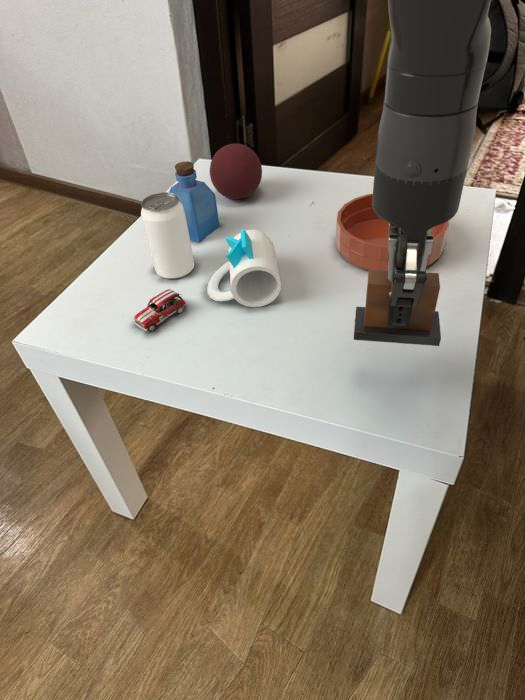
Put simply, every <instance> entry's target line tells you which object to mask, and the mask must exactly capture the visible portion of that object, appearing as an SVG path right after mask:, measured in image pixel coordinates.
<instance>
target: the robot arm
mask: <svg viewBox="0 0 525 700" xmlns="http://www.w3.org/2000/svg"><path fill="white" fill-rule="evenodd" d="M491 2H492V0H387V9H388V18H389V27H390V41H389V46H388V47H389V48H388V54H387V61H386V62H387V63H386V73H385V84H384V96H383V105H382V111H381V115H380V119H379V125H378V131H377V139H376V152H375V163H374V173H373V175H374V176H373V187H372V194H373V197H372V207H373V210H374V212H375V213H376V214H377V215H378V216H379V217H380V218H381V219H383V220H384V221H386V222H388V223H389V227H388V238H389V239H388V260H389V263H388V279H389V280H390V281H391V291H389V296H390V298H389V302H390V305H389V313H388V325H389V326H393V327H407V326H408V325H409V323H410V317H411V311H412V307H417V305H418V304H419V299H420V296H421V293H422V290H423V287H424V284H425V281H426V280H427V275H426V273H427V272H426V271H427V267H428V266H427V260H428V256H429V255H430V254H431V253H432V247H433V239H434V236H433V235H431V230H432V227H435V226H437V225H441V224H443V223H445V222H447V221H449V222H450V221H451V220H452V219H453V218H454V217H455V216H456V214H457V213H458V211H459V208H460V203H461V198H462V195H463V190H464V185H465V181H466V176H467V172H468V168H469V162H470V157H471V153H472V147H473V144H474V139H475V135H476V126H477V113H478V105H479V99H480V95H481V90H482V85H483V80H484V76H485V71H486V66H487V62H488V57H489V51H490V46H491V37H492V36H491V35H492V26H491V20H490V18H489V11H490V6H491ZM418 266H419V267H418ZM426 266H427V267H426Z"/></svg>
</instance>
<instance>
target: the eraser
mask: <svg viewBox="0 0 525 700" xmlns="http://www.w3.org/2000/svg"><path fill="white" fill-rule="evenodd" d="M367 271H368V270H367ZM426 275H427V280H426V281H425V284H424V287H423V290H422V293H421V296H420V299H419V304H418V305H417V307H412V311H411V317H410V323H409V325H408V326H407V327H393V326H389V325H388V313H389V305H390V302H389V298H390V296H389V291H391V281H390V280H389V279H388V271H381V270H369V271H368V273H367V284H366V292H365V293H366V294H365V295H366V296H365V305H364V306H356V307H355V317H354V326H353V327H354V328H353V341H362V342H363V341H364V342H365V341H366V342H378V343H391V344H403V345H405V344H407V345H419V346H433V347H439V346H440V345H441V341H442V333H441V324H440V313H439V311H438V310H436V309H437V305H438V299H439V296H440V295H439V294H440V289H441V282H440V273H439V272H426Z"/></svg>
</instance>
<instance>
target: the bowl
mask: <svg viewBox="0 0 525 700" xmlns="http://www.w3.org/2000/svg"><path fill="white" fill-rule="evenodd" d="M372 197H373V193H367V194H364V195H360V196H357V197H354V198H352V199H351V200H349V201H348V202H346V203H344V204H343V205H342V207H340V209H339V210H338V211H337V216H336V224H335V225H336V226H335V227H336V229H335V245H336V248H337V250H338V253H339V254H340V255H341V256H342V257H343V258H344V259H345V260H346V261H347V262H349V263H350V264H352V265H353V266H355V267H357V268H360V269H362V270H365V271H369V270H381V271H388V263H389V260H388V239H389V238H388V227H389V223H388V222H386V221H384V220H383V219H381V218H380V217H379V216H378V215H377V214H376V213H375V212H374V210H373V207H372ZM449 226H450V220H449V221H447V222H445V223H443V224H441V225H437V226H435V227H432V230H431V235H433V236H434V239H433V247H432V253H431V254H430V255H429V256H428V260H427V266H426V268H427V267H428V266H430V265H432V264H433V263H435V261H438V260H439V258H440V257H441V255H442V253H443V251H444V249H445V245H446V242H447V241H446V240H447V237H448V231H449ZM418 267H419V266H418Z"/></svg>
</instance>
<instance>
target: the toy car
mask: <svg viewBox="0 0 525 700" xmlns="http://www.w3.org/2000/svg"><path fill="white" fill-rule="evenodd" d="M182 296H183V294H182V293H181V294H180V293H179V292H176V291H175V290H173V289H171V288H169V289H166V290H163V291H161V292H160V293H158V294H157V295H155V296H153V297H152V298H150V299H149V301H148V303H147V304H146V307H145V308H143V309H142V310H140V311H138V312H137V313H136V314H135V315H134V317H133V319H134V324H135V325H136V326H137V327H138V328H140V329H141V330H144V331H146V332H147V331H148V332H149V333H150V332H156V331H155V330H156V326H159V325H161V324H162V323H163V322H165V320H166V319H168V318H170V317H171V316H173V315H175V314H177V315H180V314H182V313H183V312H184V307H185V306H187V302H186V300H185V299H184V298H183V297H182Z"/></svg>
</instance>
